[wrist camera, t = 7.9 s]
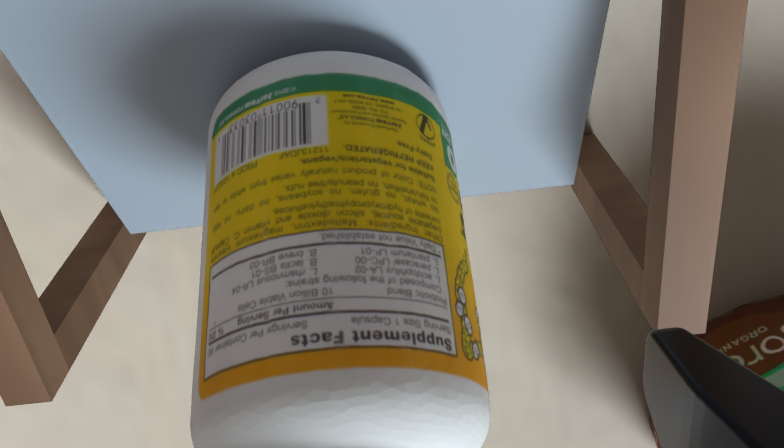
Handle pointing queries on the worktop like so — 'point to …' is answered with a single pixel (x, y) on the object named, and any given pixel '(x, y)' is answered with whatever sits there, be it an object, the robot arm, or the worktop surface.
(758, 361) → the food container
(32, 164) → the worktop surface
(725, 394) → the robot arm
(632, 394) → the worktop surface
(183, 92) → the grey flat block
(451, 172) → the supplement bottle
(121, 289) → the worktop surface
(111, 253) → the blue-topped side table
